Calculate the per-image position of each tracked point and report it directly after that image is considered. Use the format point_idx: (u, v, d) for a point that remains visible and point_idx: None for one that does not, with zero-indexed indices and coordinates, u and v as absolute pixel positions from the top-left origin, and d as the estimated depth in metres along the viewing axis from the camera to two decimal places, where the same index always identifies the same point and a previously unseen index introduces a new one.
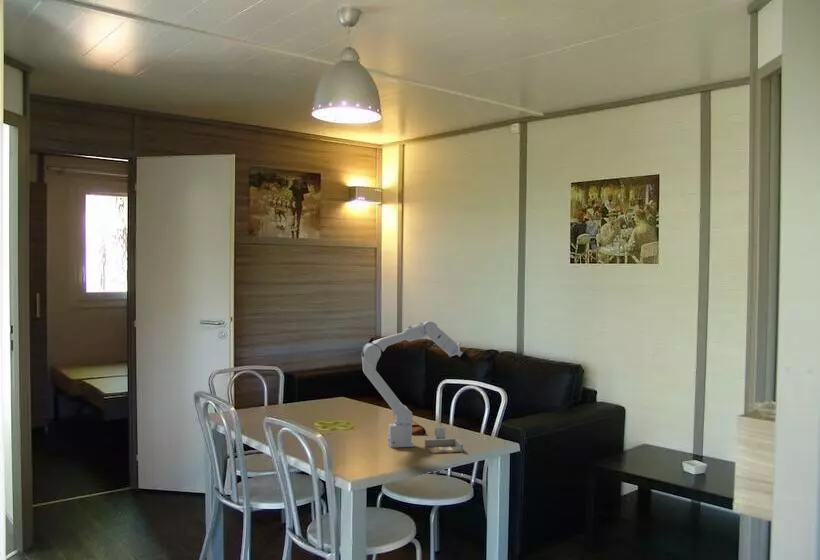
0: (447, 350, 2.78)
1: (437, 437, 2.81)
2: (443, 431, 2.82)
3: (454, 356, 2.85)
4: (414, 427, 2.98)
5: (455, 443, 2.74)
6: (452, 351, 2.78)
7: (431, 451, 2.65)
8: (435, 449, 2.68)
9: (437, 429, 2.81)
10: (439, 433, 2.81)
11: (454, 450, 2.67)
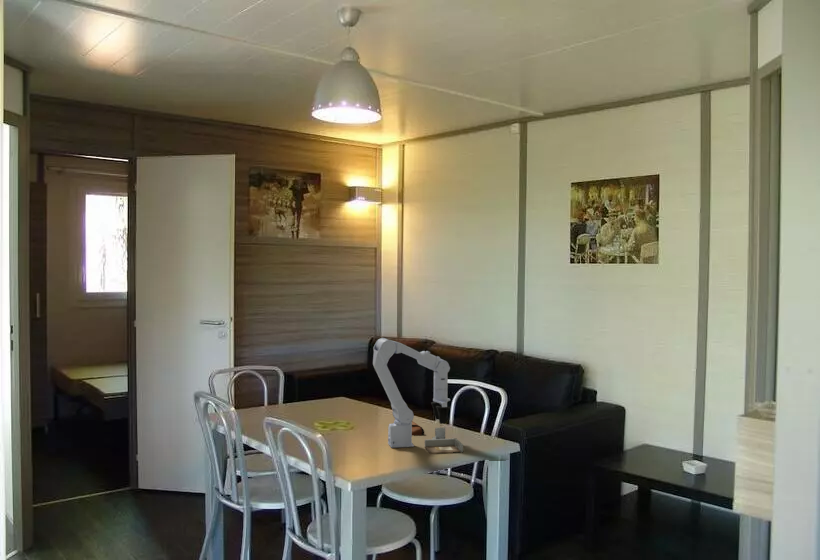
0: (437, 394, 2.79)
1: (437, 437, 2.81)
2: (443, 431, 2.82)
3: (434, 405, 2.85)
4: (412, 427, 2.97)
5: (455, 443, 2.74)
6: (439, 399, 2.79)
7: (431, 451, 2.65)
8: (435, 449, 2.68)
9: (437, 429, 2.81)
10: (439, 433, 2.81)
11: (454, 450, 2.67)
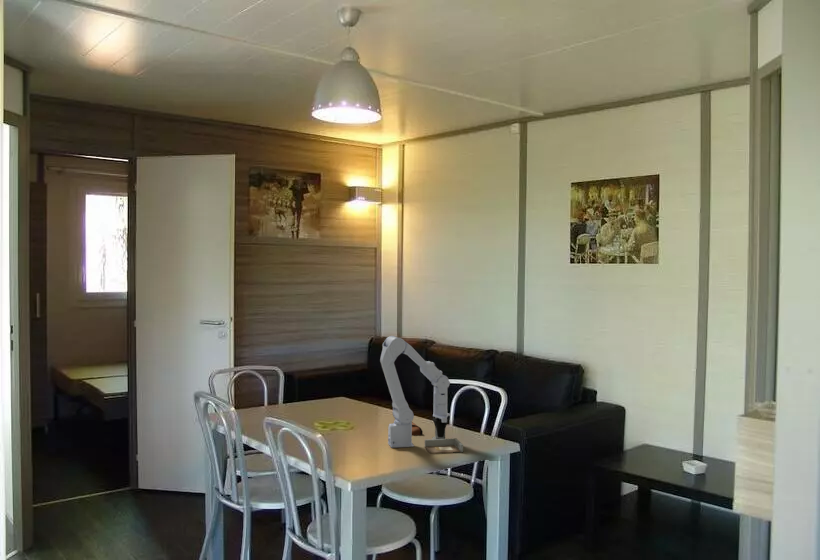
0: (436, 409, 2.80)
1: (437, 437, 2.81)
2: None
3: None
4: None
5: (455, 443, 2.74)
6: (439, 414, 2.79)
7: (431, 451, 2.65)
8: (435, 449, 2.68)
9: None
10: None
11: (454, 450, 2.67)
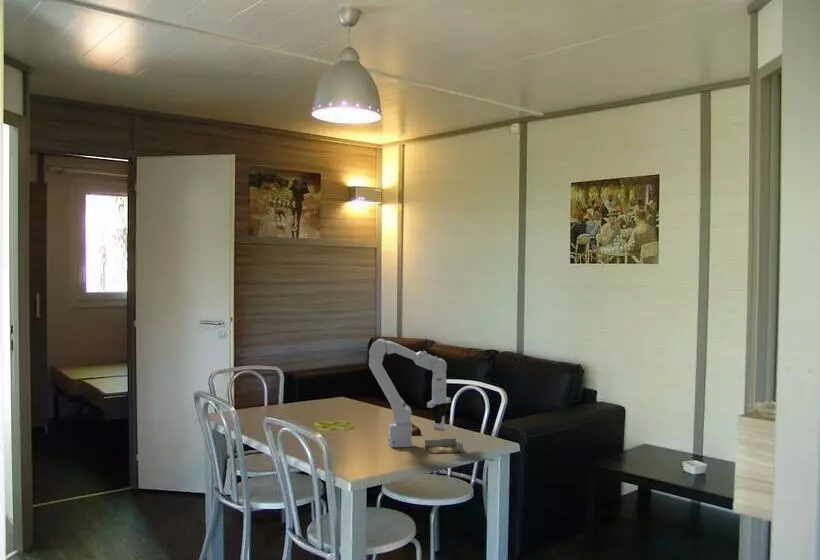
0: (432, 394, 2.75)
1: (435, 424, 2.76)
2: (441, 419, 2.74)
3: None
4: None
5: (455, 443, 2.74)
6: (433, 399, 2.74)
7: (431, 451, 2.65)
8: (435, 449, 2.68)
9: None
10: None
11: (454, 450, 2.67)
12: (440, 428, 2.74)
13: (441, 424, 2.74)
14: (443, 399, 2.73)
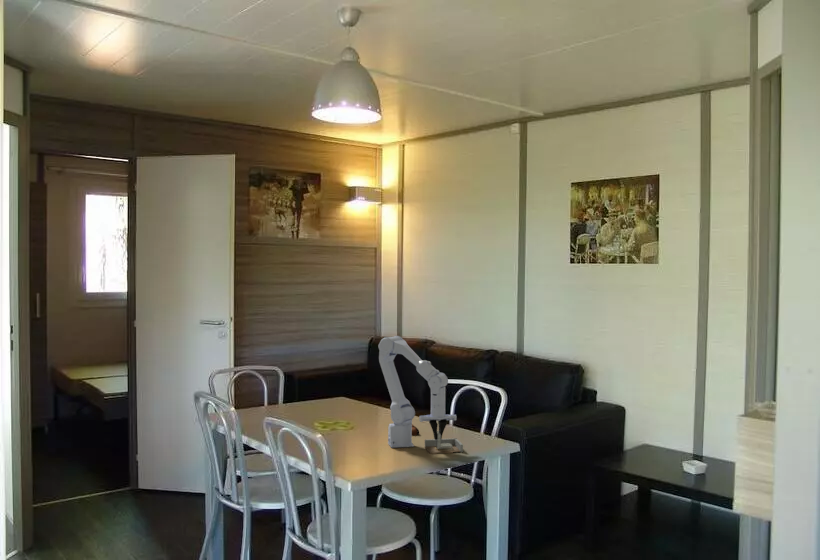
0: None
1: (435, 440, 2.70)
2: (437, 437, 2.67)
3: (439, 423, 2.71)
4: None
5: (455, 443, 2.74)
6: None
7: (431, 451, 2.65)
8: (435, 449, 2.68)
9: None
10: None
11: (454, 450, 2.67)
12: (437, 445, 2.68)
13: (437, 442, 2.67)
14: (437, 415, 2.66)
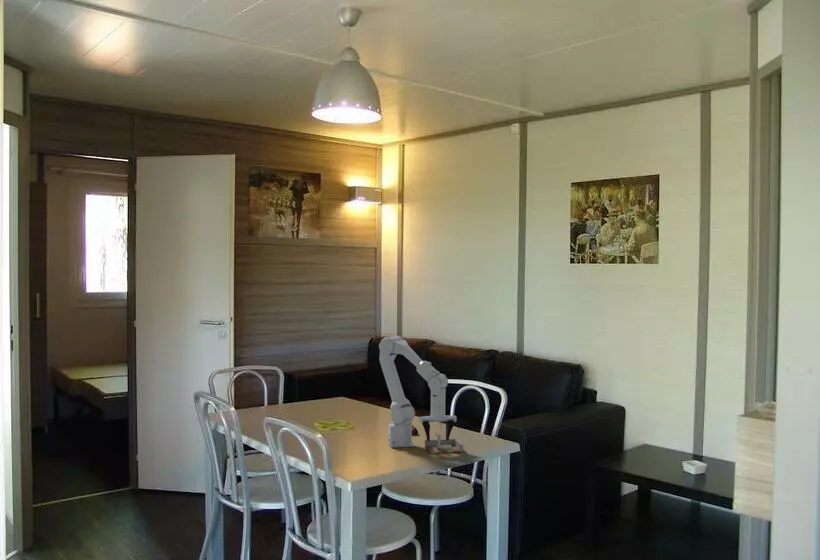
0: None
1: (435, 441, 2.70)
2: (437, 437, 2.68)
3: (446, 423, 2.71)
4: None
5: (455, 443, 2.74)
6: None
7: (431, 451, 2.65)
8: (435, 449, 2.68)
9: (435, 433, 2.70)
10: (436, 438, 2.69)
11: (454, 450, 2.67)
12: (437, 446, 2.68)
13: (437, 442, 2.68)
14: (437, 416, 2.66)
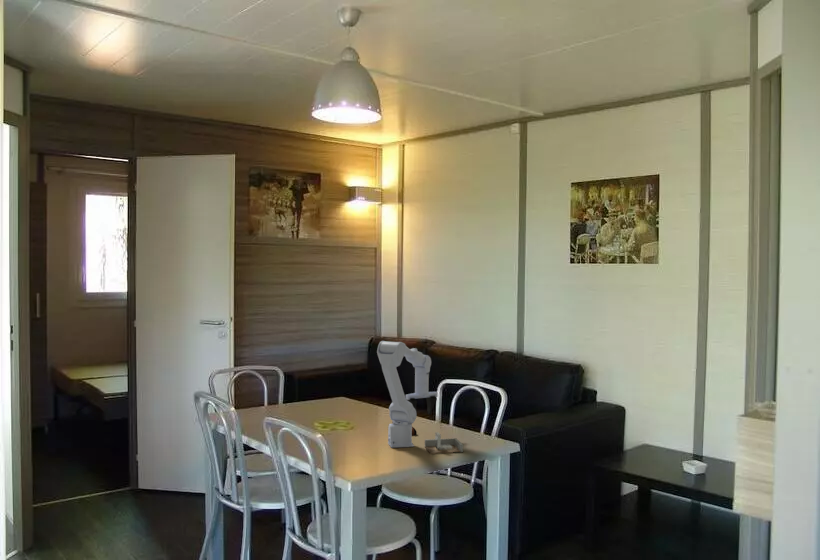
0: None
1: (435, 441, 2.70)
2: (437, 437, 2.68)
3: (427, 399, 2.93)
4: None
5: (455, 443, 2.74)
6: (415, 392, 2.89)
7: (431, 451, 2.65)
8: (435, 449, 2.68)
9: (435, 433, 2.70)
10: (436, 438, 2.69)
11: (454, 450, 2.67)
12: (437, 446, 2.68)
13: (437, 442, 2.68)
14: (423, 393, 2.87)
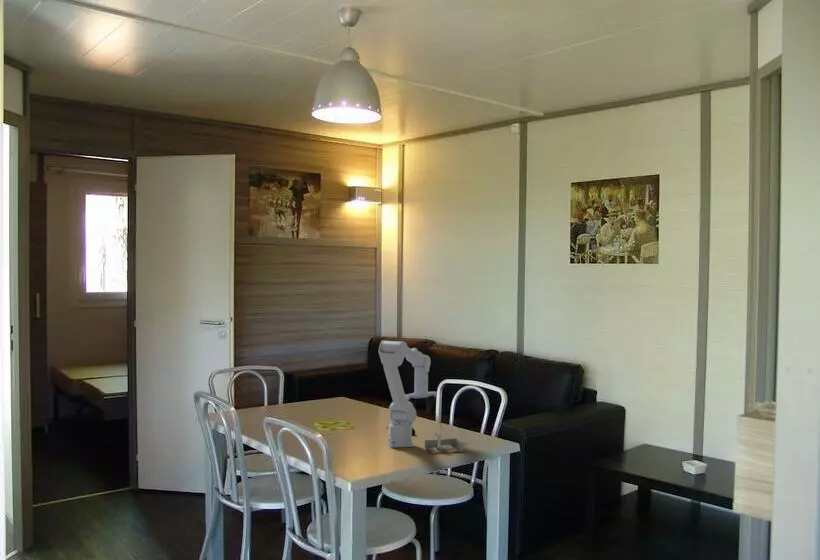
0: None
1: (435, 441, 2.70)
2: (437, 437, 2.68)
3: (426, 399, 2.94)
4: None
5: (455, 443, 2.74)
6: (414, 392, 2.90)
7: (431, 451, 2.65)
8: (435, 449, 2.68)
9: (435, 433, 2.70)
10: (436, 438, 2.69)
11: (454, 450, 2.67)
12: (437, 446, 2.68)
13: (437, 442, 2.68)
14: (422, 392, 2.88)
